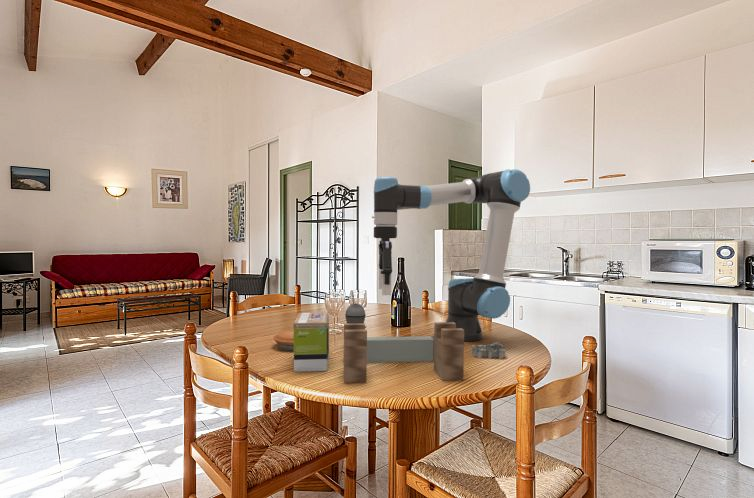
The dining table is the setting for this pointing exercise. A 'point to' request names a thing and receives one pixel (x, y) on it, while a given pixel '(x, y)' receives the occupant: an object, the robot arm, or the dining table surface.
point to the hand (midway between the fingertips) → (384, 291)
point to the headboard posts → (445, 351)
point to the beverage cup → (355, 313)
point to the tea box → (311, 342)
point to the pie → (285, 340)
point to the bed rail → (400, 349)
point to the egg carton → (489, 350)
